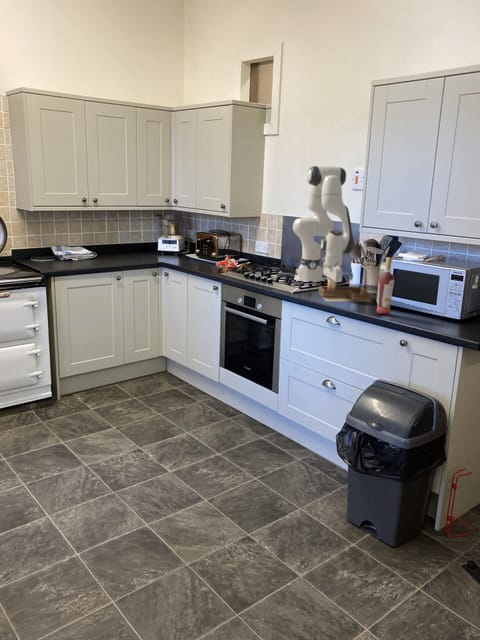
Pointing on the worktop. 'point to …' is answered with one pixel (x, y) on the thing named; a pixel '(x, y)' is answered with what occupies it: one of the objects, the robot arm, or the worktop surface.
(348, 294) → the walls
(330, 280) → the peg
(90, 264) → the worktop surface
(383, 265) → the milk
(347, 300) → the board
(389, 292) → the liquor
